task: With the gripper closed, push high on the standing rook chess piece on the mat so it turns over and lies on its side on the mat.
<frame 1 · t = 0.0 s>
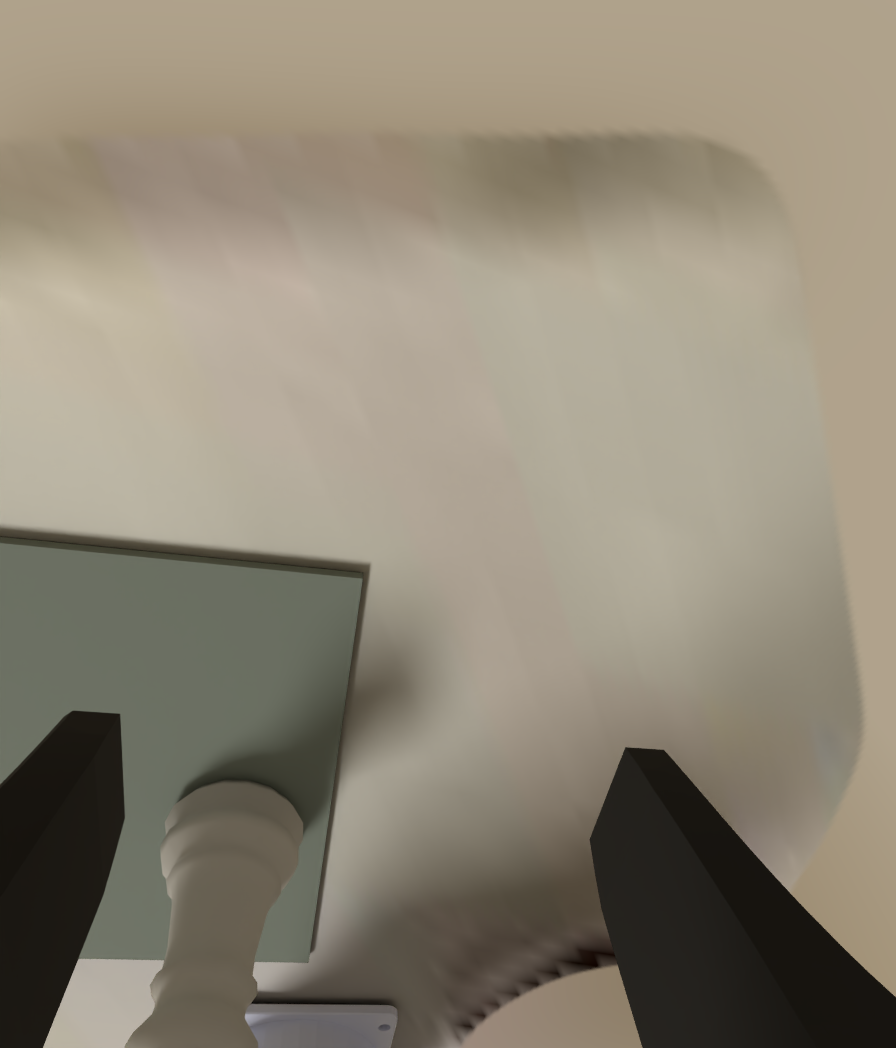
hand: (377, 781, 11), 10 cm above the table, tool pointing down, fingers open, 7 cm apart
rook chess piece: (238, 814, 25), resting on mat
mat: (80, 782, 24), on the table
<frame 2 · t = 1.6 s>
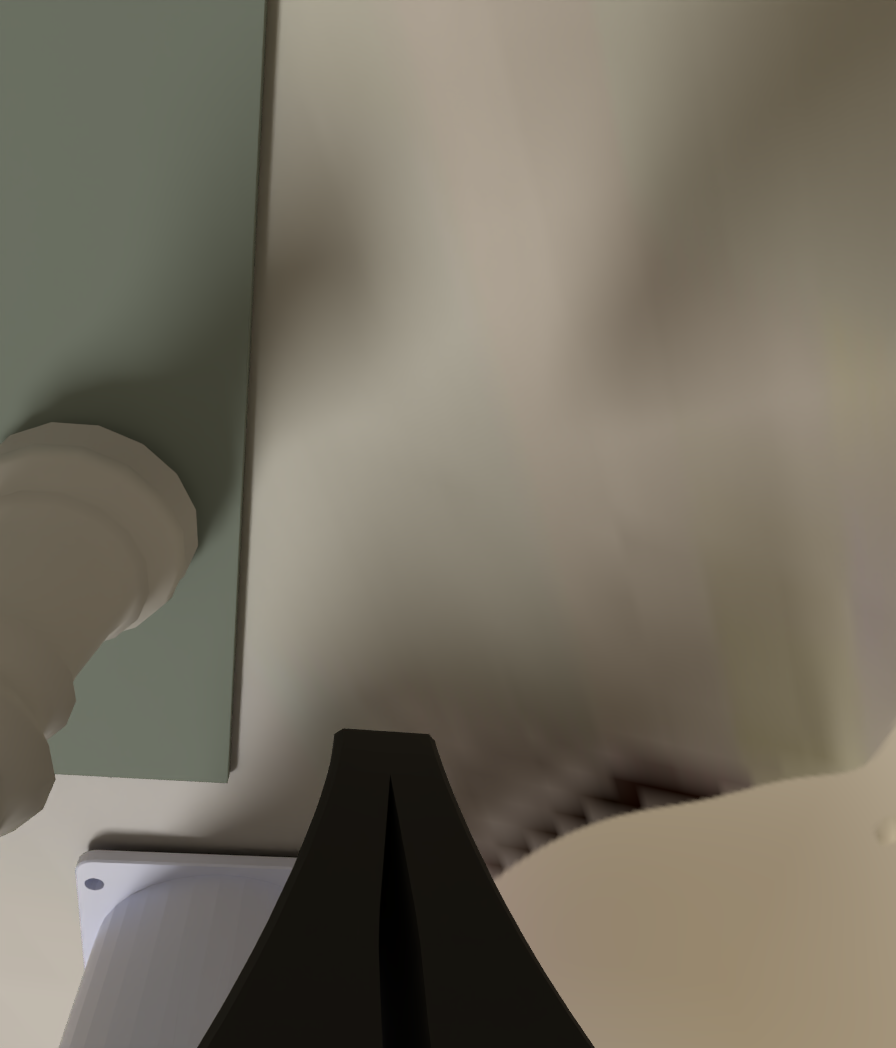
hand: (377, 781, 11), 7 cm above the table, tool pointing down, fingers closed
rook chess piece: (99, 506, 16), resting on mat
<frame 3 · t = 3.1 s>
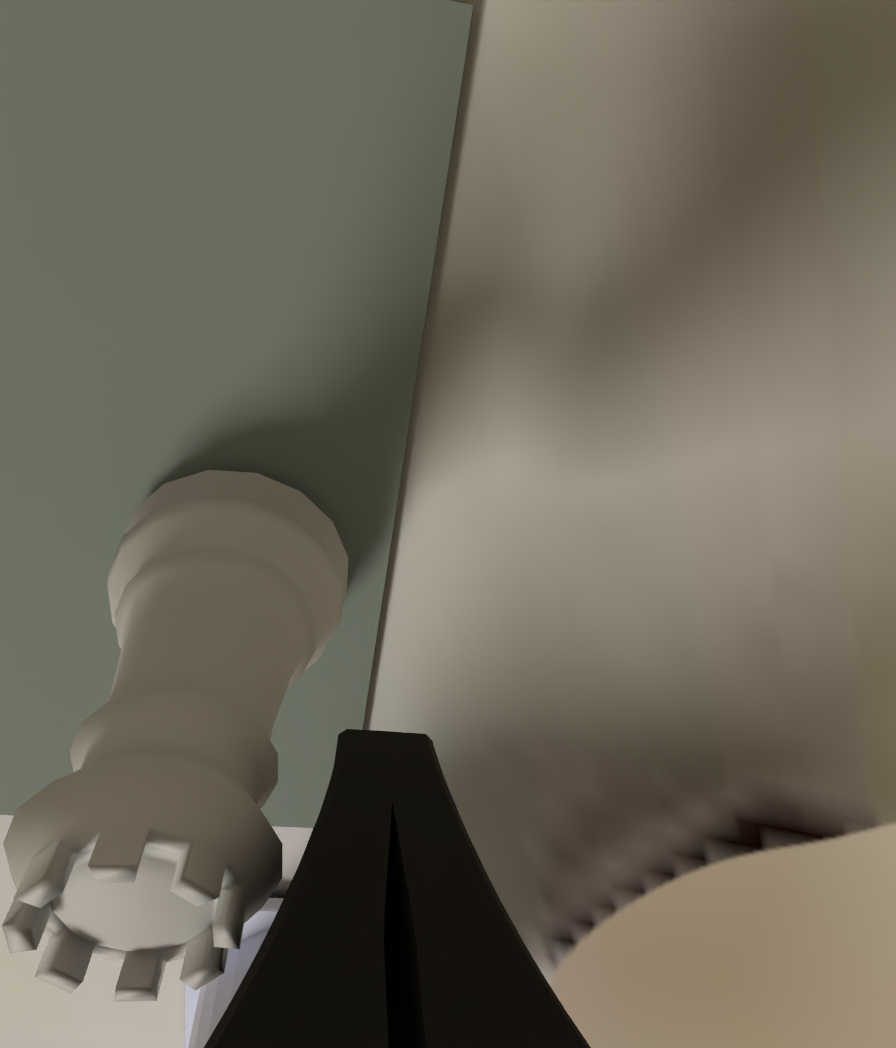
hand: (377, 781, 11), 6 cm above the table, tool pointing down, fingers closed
rook chess piece: (241, 553, 15), resting on mat, touching gripper
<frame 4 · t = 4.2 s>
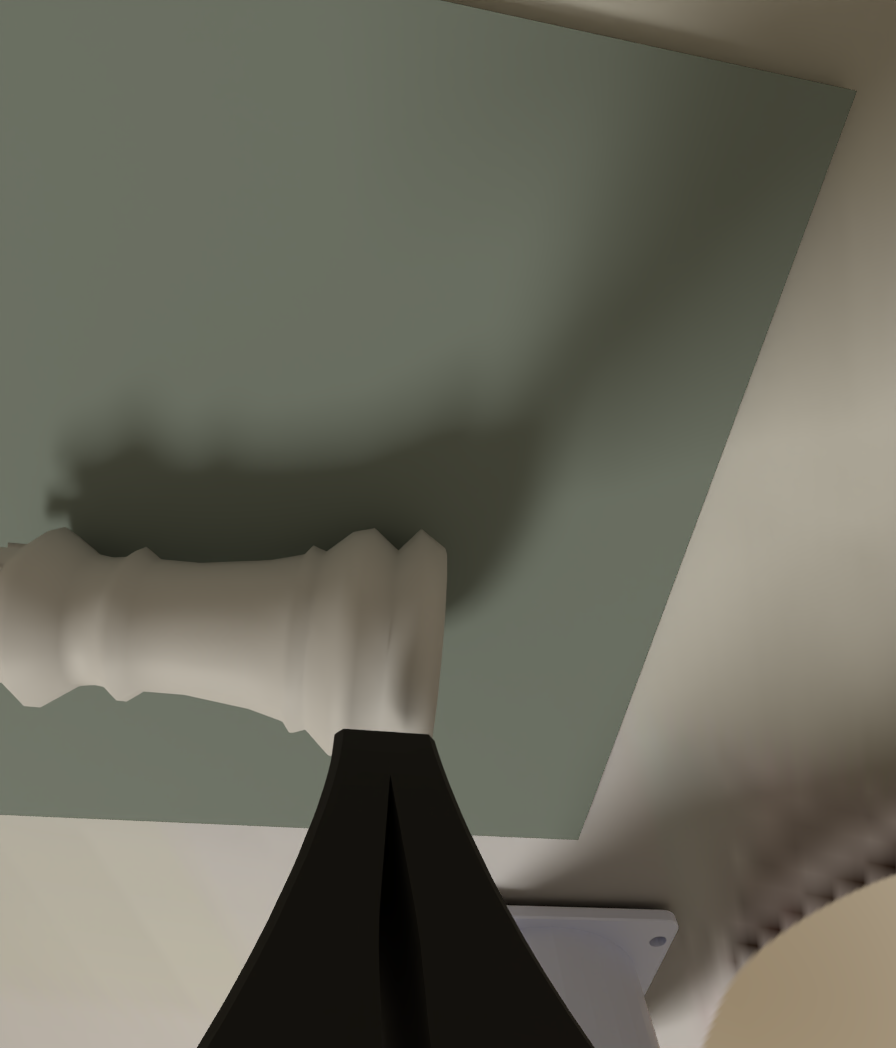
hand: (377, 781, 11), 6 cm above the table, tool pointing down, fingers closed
rook chess piece: (446, 650, 14), point 3 cm above the table, touching mat
mat: (310, 516, 15), on the table
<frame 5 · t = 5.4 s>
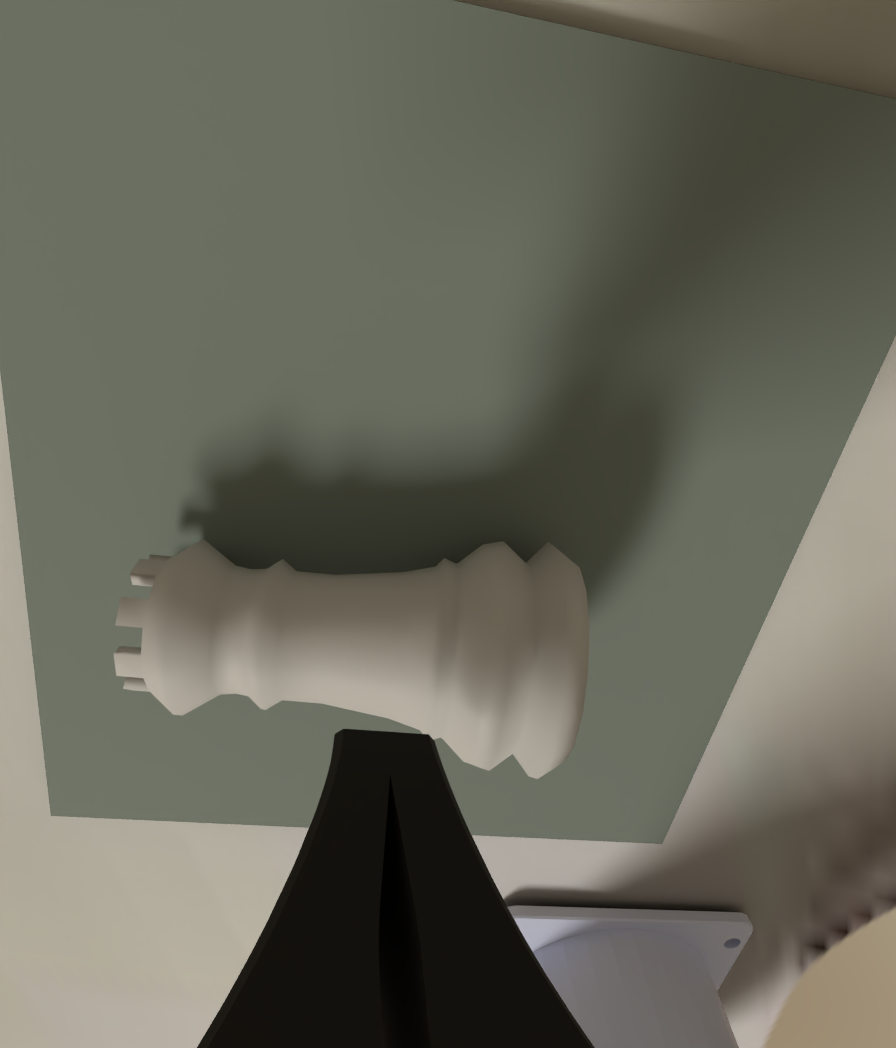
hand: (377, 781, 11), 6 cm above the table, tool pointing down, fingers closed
rook chess piece: (573, 660, 14), point 3 cm above the table, touching mat
mat: (430, 528, 16), on the table
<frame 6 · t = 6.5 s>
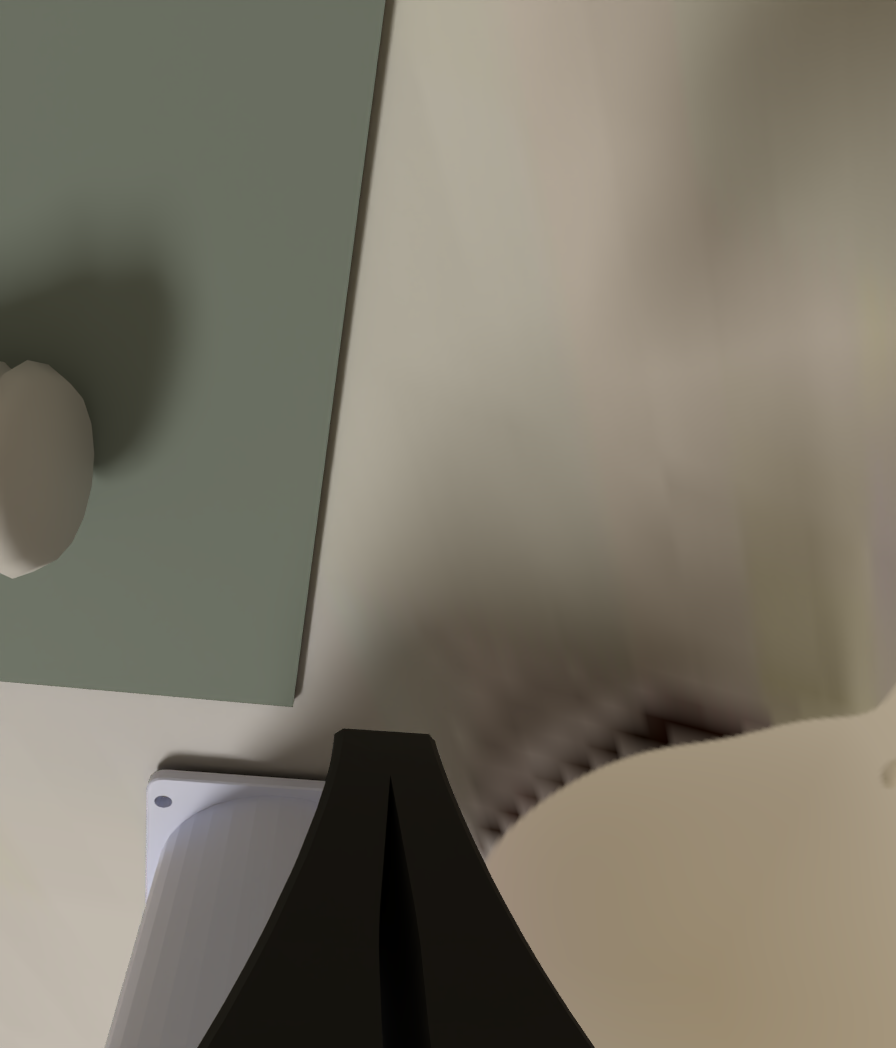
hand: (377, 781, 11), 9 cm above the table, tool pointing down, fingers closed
rook chess piece: (65, 474, 15), point 3 cm above the table, touching mat
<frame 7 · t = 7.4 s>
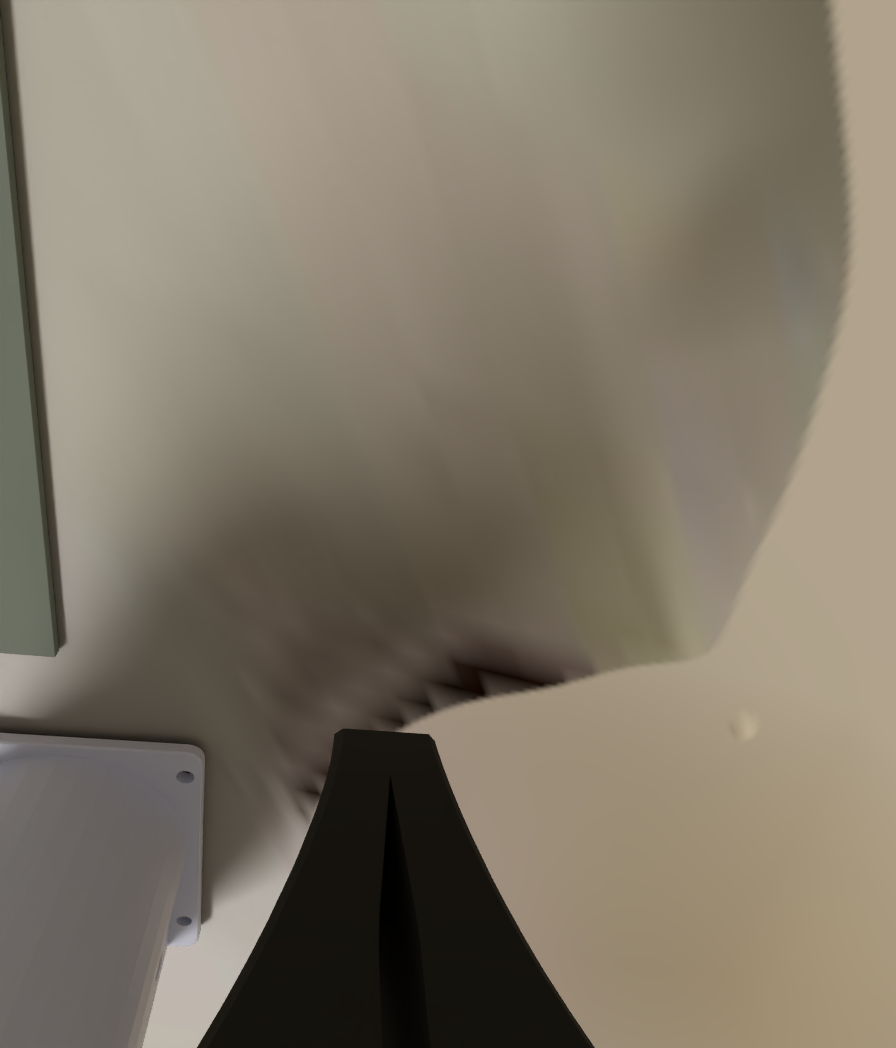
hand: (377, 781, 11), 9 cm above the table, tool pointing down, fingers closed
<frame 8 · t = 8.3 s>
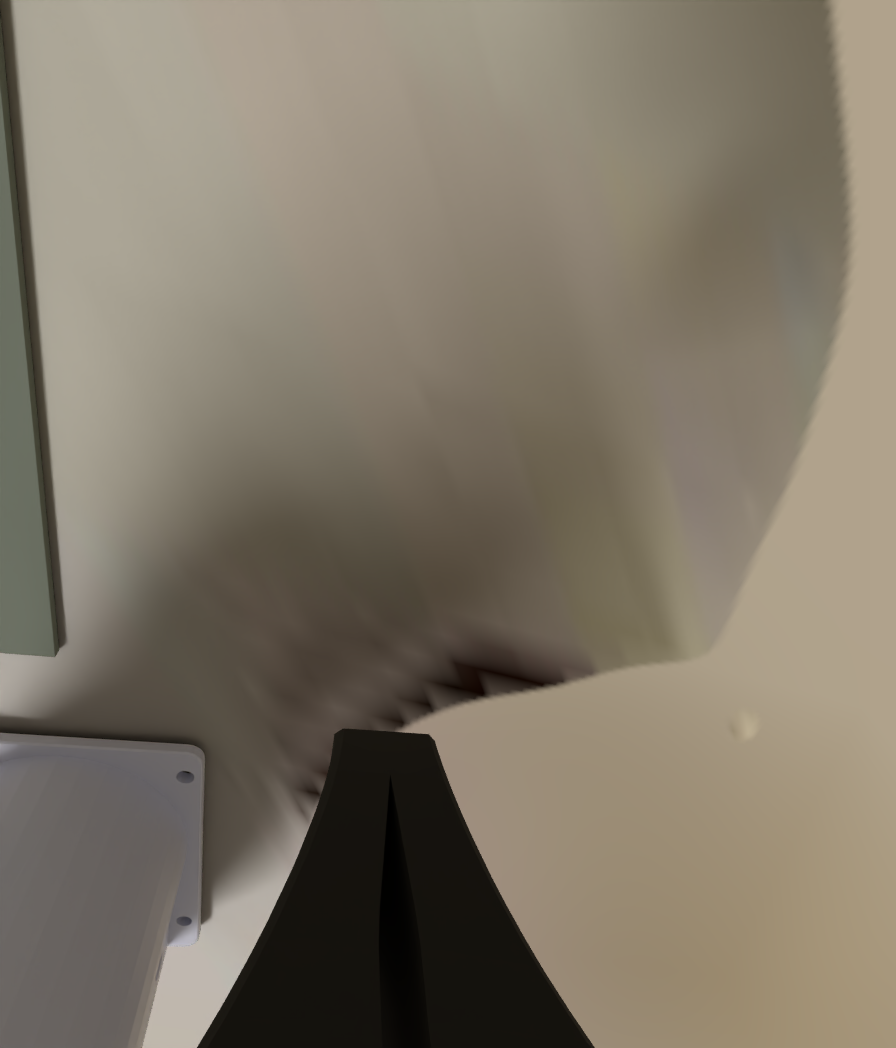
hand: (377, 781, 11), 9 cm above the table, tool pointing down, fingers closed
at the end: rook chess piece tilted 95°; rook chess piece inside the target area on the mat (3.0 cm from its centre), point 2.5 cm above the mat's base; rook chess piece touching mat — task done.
